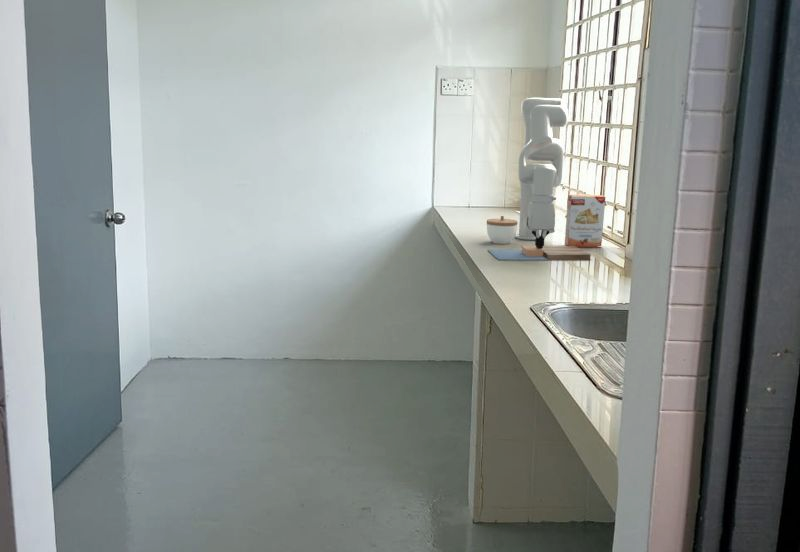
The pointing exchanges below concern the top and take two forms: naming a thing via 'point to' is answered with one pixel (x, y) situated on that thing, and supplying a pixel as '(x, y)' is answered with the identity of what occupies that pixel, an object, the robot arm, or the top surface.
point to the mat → (513, 255)
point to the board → (564, 253)
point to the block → (532, 251)
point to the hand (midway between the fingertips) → (539, 247)
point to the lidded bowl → (501, 230)
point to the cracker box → (584, 220)
